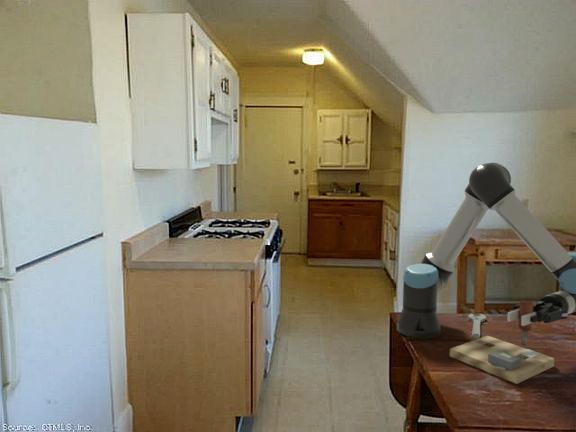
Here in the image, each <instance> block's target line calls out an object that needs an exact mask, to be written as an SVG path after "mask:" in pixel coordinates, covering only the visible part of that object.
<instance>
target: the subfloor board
mask: <svg viewBox="0 0 576 432" xmlns="http://www.w3.org/2000/svg"><path fill="white" fill-rule="evenodd" d="M498 350H499V351H502V352H505V353H508V354H510V355H513V356H516V357H519V358H521V366H520V367H518V368H516V369H513V370H511V371H510V370H508V369H505V368H503V367H500V366H497V365H495V364H492V363H490V362H488V355H489V354H490V353H492V352H495V351H498ZM449 357H450V358H453V359H456V360H457V361H460V362H463V363H465V364H468V365H470V366H472V367H474V366H475V368H476V369H480V370H482V371H484V372H487V373H489V374H491V375H493V376H497V377H499V378H501V379H504V380H506V381H509V382H511V383H513V384H515V385H517V384H520V383H522V382H523V381H526V380H527V379H530V378H532V377H534V376H536V375H539V374H541V373H542V372H544V371H548V370H550V369H551V368H553V367H555V357H552V356H549V355H546V354H543V353H541V352H537V351H535V350H531V349H529V348H525V347H524V346H523V347H522V346H519V345H516V344H513V343H511V342H507V341H505V340H503V339H500V338H495V337H493V336H490V335H486V336H482V337H480V338H479V339H473V340H471V341H468V342H465V343H463V344H460V345H456V346H453V347H451V348H449Z"/></svg>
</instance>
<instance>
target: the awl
mask: <svg viewBox="0 0 576 432" xmlns="http://www.w3.org/2000/svg"><path fill="white" fill-rule="evenodd" d="M519 303H520V308H519V319H518V327H517V328H518V329H519V330H521V338H520V340H521V341H520V345H521V346H523V347H524V346H525V347H526V346H528V336H529V335H528V334H529V331H532V330H533V323H530V324H528V325H525V326H522V325H521V318H522V316H524V315H527V314H530V313H533V303H534V302H532V301H530V300H528V301H524V300H520V301H519Z"/></svg>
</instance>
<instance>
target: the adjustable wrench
mask: <svg viewBox="0 0 576 432" xmlns="http://www.w3.org/2000/svg"><path fill="white" fill-rule="evenodd" d="M467 320H468V321H471V322H472V323H473V324H472V325H473V326H472V332H471V338H472V339H473V340H476V339H479V338H481V324H482V323H483V321H484V322H485V320H486V321H487V316H486V315H485V314H482V313H479V315H478V316H475V314H473V313H469V314H468V316H467ZM481 322H482V323H481Z"/></svg>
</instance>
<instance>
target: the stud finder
mask: <svg viewBox="0 0 576 432" xmlns="http://www.w3.org/2000/svg"><path fill="white" fill-rule="evenodd" d="M488 362H490V363H492V364H495V365H497V366H500V367H503V368H505V369H508V370H510V371H511V370H513V369H516V368H518V367H520V366H521V358H519V357H516V356H513V355H510V354H508V353H505V352H502V351H499V350H498V351H495V352H492V353H490V354H489V355H488Z"/></svg>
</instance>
